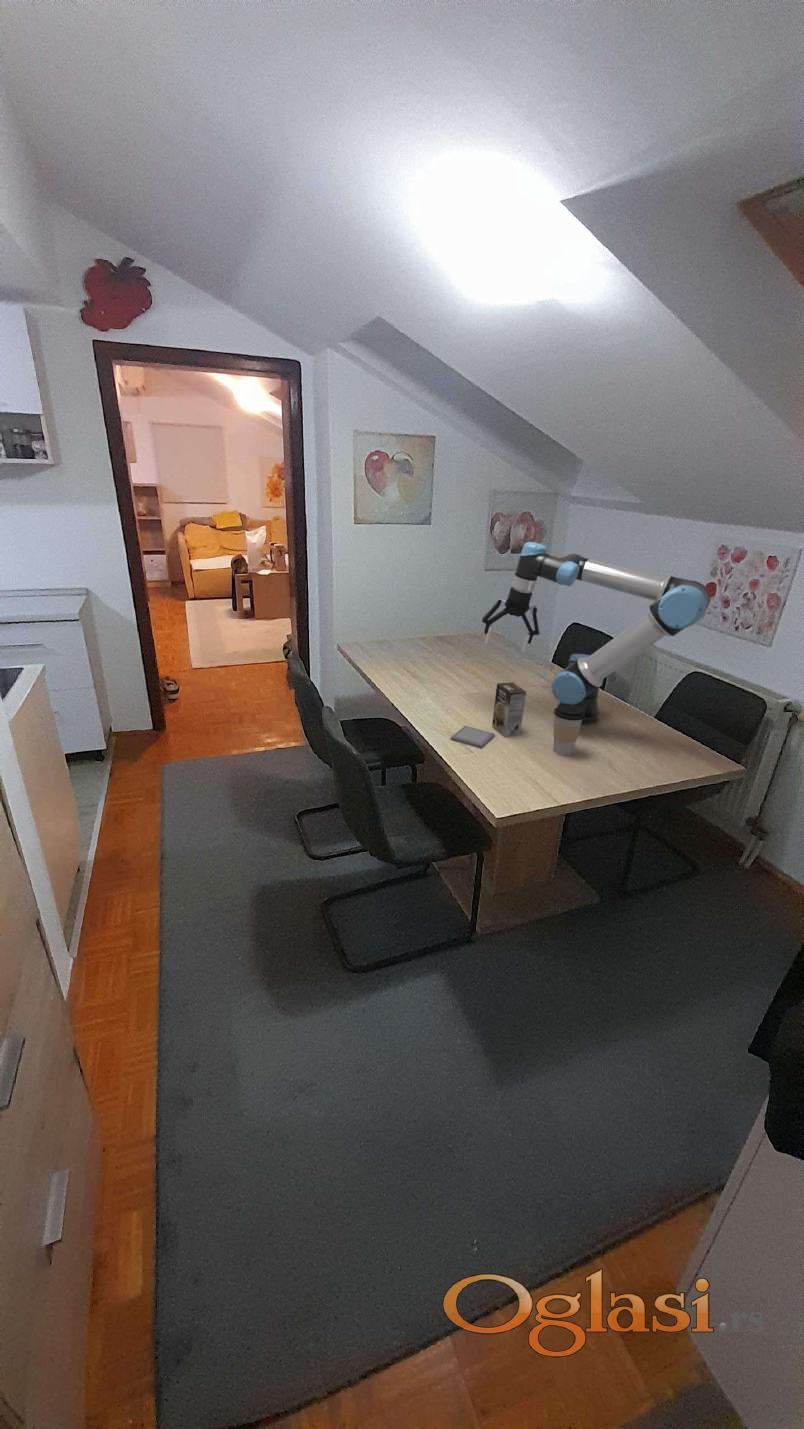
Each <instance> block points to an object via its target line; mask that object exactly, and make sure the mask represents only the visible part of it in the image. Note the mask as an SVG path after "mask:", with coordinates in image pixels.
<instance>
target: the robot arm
mask: <svg viewBox="0 0 804 1429" xmlns="http://www.w3.org/2000/svg"><path fill="white" fill-rule="evenodd" d="M538 577H540V578H543V579H545V580H547V581H551V582H554V583H556V584H558V585H560V586H561V585H563V586H565V587H571V586H573V585H574V583H575V582H576V580H577V581H581V582H584V583H588V584H592V585H596V586H599V587H603V588H605V589H609V590H614V591H618V592H621V593H624V594H628V595H630V596H631V595H632V596H636V597H639V598H642V599H646V600H650V601H654V602H653V603H651V604H650V605H649V606H648V610H647V613H646V614H645V615H643V616H642V617H641V618H639V619H638V620H637V621H636V622H634V623H633V624H631V625H629V626H628V627H627V628H626V629H625V630H623V631H622V632H620V633H619V634H617V635H616V636H615V637H613V639H610V641H608V642H607V643H606V644H604V645H603V646H602V647H600V648H599V649H597V650H596V651H594V652H593V653H592V654H591V655H590V654H586V653H585V654H584V653H583V654H582V653H573V654H571V655H570V658H569V659H568V666H567V667H565V668H564V669H563V670H562V671H560V672H557V674H556V675H555V676H554V678H553V680H552V682H551V692H552V694H553V696H554V697H555V699H556V700H557V701H558V704H557V706H558V705H560V704H573V705H576V706H579V707H581V708H582V709H583V712H584V714H585V715H584V716H585V718H584V719H582V722H581V725H591V724H594V723H597V722H598V721H599V718H600V709H599V704H598V703H599V702H598V696H599V692H600V687H601V686H602V685H603V682H604V681H603V680H604V679H605V678H607V677H608V676H609V675H610V674H612V673H614V672H615V671H617V670H618V669H620V667H622V666H624V665H626V664H627V663H628V662H630V661H631V660H632V659H635V657H637V656H638V655H639V654H642V652H644V651H645V650H647V649H648V648H649V647H651V646H652V645H654V644H656V643H657V642H658V641H660V640H662V639H663V638H664V637H674V636H676V635H678V634H680V632H682V631H683V630H685V629H686V628H689V627H692V626H694V625H695V624H697V623H698V622H699V621H700V620H701V619H702V618H703V616H704V614H705V612H706V611H707V609H708V608H709V606H710V602H711V596H710V595H711V594H710V592H709V590H708V588H707V586H705V585H704V584H703V583H701V582H699V581H697V580H692V579H686V578H681V577H676V576H671V575H669V576H668V577H662V576H658V575H656V574H655V575H654V574H650V573H647V572H642V571H638V570H635V569H634V570H633V569H631V568H628V567H627V568H626V567H623V566H620V565H619V566H618V565H615V564H611V563H606V562H603V561H600V560H595V559H591V558H587V557H584V556H582V554H580V553H569V554H567V555H565V556H562V557H557V556H554V555H551V554H549V553H547V546H546V545H544V544H542V543H538V542H535V541H528V542H525V543H524V544H523V547H522V550H521V552H520V555H519V560H518V562H517V566H516V569H515V574H514V576H513V579H512V583H511V586H512V587H510V590H509V592H508V595H507V599H506V600H505V599H502V598H501V597H498V598H497V600H496V603H495V604H494V605H493V606H492V607H491V608H490V609H489V611H487V612H486V614H485V615H484V616H483V617H482V620H481V621H482V623H483V624H485V627H484V632H483V633H484V634H485V638H484V644H486V645H487V644H488V641H489V638H490V633H491V632H492V631H491V630H492V627H493V626H492V625H493V624H494V623H496V622H497V621H498V620H500V619H501V618H503V617H504V616H506V615H510V616H515V617H517V618H519V617H521V619H522V620H523V622H524V624H525V627H526V629H527V631H528V632H527V633H526V635H525V639H524V642H523V644H522V647H521V653H525V652H526V649H527V645H528V644H532V640H533V637H534V636H539V635H540V630H539V624H538V619H537V618H538V617H537V613H538V607H537V605H533V606H530V604H531V603H530V602H531V600H532V597H533V592H534V590H535V586H536V584H537V581H538ZM503 605H504V606H505V607H504V608H503V609H502V610H501V611H499V612H497V613H496V611H497V610H498V609H499V607H502V606H503ZM528 611H530V614H532V621H533V626H534V630H533V628H532V626H531V624H530V621H529V619H528V617H527V615H526V613H527V612H528ZM494 613H496V614H495V615H494V616H493V614H494Z"/></svg>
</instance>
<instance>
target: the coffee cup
mask: <svg viewBox="0 0 804 1429" xmlns="http://www.w3.org/2000/svg"><path fill="white" fill-rule="evenodd" d="M553 714H554V720H553V744H552V745H553V749H552V750H553V752H554V753H555V754H557V755H561V756H571V755H572V754H573V751H574V748H575V745H576V742H577V740H578V736H579V732H580V730H581V726H582V724H581V722H582V719H584V718H585V716H584V715H585V714H584V712H583V709H582V708H581V707H579V706H576V705H573V704H560V705H558V704H557V707H556V708H554V711H553Z"/></svg>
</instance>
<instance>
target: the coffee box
mask: <svg viewBox="0 0 804 1429" xmlns="http://www.w3.org/2000/svg"><path fill="white" fill-rule="evenodd" d="M526 696H527V691H526V690H525V689H524V688H522V687H520V686H518V685H517V684H516V683H514V682H513V681H512V682H500V683H499V682H498V683H496V689H495V698H494V706H493V716H492V717H493V718H492V724H491V726H492V728H493V729H495V730H496V731H497V732H498V733H499V734H500V735H502V736H503V737H504V738H509V737H516V736H520V735H521V730H522V724H523V716H524V711H525V705H526V704H525V703H526Z"/></svg>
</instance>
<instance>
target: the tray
mask: <svg viewBox="0 0 804 1429" xmlns="http://www.w3.org/2000/svg"><path fill="white" fill-rule="evenodd" d="M494 738H495V733H493V732H489V731H486V730H483V729H478V728H476V727H475V728H474V727H471V726H467V725H464V726H463V727H461V728H460V729H459V730H458V731H456V732H455V733H454V734H453V735H452V736H450V740H451V741H453V742H456V743H461V744H465V745H468V746H470V747H475V748H479V749H483V748H484V747H485V746H486V745H488V743H489V742H490V741H491V740H493V739H494Z"/></svg>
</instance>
